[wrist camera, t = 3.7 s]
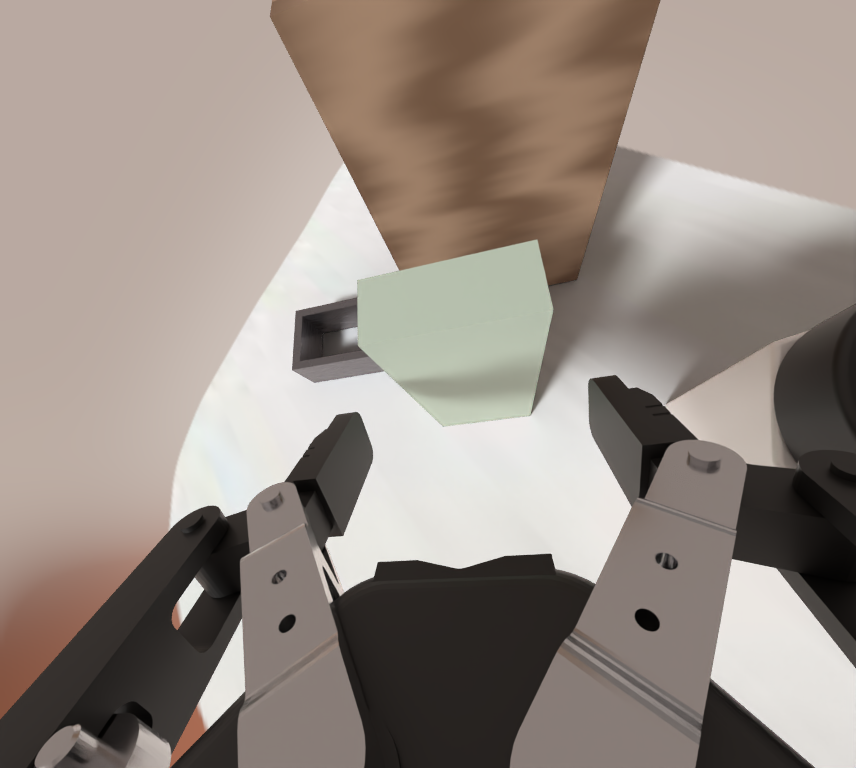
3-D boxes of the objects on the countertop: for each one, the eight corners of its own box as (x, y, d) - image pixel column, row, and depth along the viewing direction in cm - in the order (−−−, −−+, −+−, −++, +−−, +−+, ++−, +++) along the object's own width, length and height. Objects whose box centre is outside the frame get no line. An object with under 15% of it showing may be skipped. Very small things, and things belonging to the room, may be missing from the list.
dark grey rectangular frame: (420, 306, 27) (410, 285, 24) (425, 364, 25) (414, 348, 23) (316, 327, 29) (295, 309, 26) (314, 382, 27) (292, 370, 24)
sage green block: (521, 367, 24) (531, 214, 11) (530, 415, 22) (553, 309, 9) (438, 380, 25) (356, 256, 12) (443, 426, 24) (357, 345, 11)
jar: (840, 561, 17) (1498, 699, 6) (654, 517, 19) (852, 550, 8) (829, 392, 19) (1281, 248, 8) (663, 371, 21) (827, 238, 10)
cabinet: (555, 201, 27) (624, -265, 10) (576, 279, 25) (710, -170, 8) (414, 236, 29) (285, -98, 13) (420, 311, 27) (270, 16, 10)
